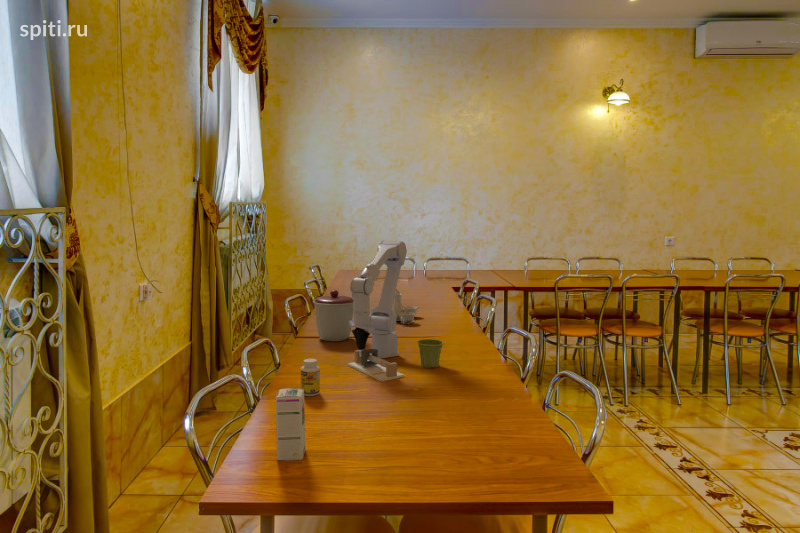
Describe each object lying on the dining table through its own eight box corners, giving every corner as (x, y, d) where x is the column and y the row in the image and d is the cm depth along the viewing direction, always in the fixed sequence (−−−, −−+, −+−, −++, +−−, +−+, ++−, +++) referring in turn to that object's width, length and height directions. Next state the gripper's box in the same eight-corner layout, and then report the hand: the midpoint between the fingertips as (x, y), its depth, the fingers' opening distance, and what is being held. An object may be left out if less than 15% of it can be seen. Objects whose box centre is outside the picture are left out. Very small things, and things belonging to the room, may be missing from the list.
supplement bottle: (297, 395, 165) (297, 361, 164) (306, 390, 171) (306, 357, 170) (314, 397, 164) (314, 363, 163) (322, 392, 169) (322, 358, 168)
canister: (344, 345, 228) (345, 294, 225) (305, 341, 233) (305, 291, 231) (362, 336, 245) (362, 288, 243) (324, 333, 250) (324, 286, 248)
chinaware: (417, 329, 268) (421, 295, 266) (382, 325, 268) (386, 291, 266) (416, 318, 296) (420, 287, 294) (385, 314, 296) (388, 283, 294)
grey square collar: (361, 364, 194) (361, 350, 194) (374, 362, 197) (374, 348, 197) (364, 366, 192) (365, 351, 192) (377, 364, 195) (377, 349, 195)
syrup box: (303, 460, 123) (302, 396, 121) (275, 461, 122) (275, 396, 121) (305, 449, 128) (305, 387, 127) (279, 449, 128) (278, 388, 126)
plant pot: (447, 364, 201) (447, 340, 201) (437, 371, 193) (438, 346, 192) (422, 361, 205) (423, 337, 204) (412, 367, 197) (413, 343, 196)
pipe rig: (347, 365, 198) (347, 351, 198) (369, 361, 203) (369, 348, 203) (381, 381, 180) (381, 365, 180) (404, 376, 185) (404, 361, 185)
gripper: (341, 309, 201) (341, 346, 202) (362, 315, 189) (362, 355, 191) (358, 307, 205) (358, 344, 206) (379, 313, 193) (379, 352, 195)
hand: (361, 349), depth 199 cm, fingers closed
